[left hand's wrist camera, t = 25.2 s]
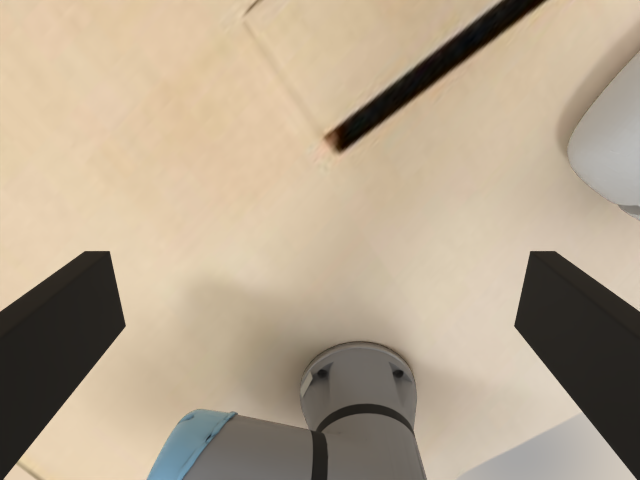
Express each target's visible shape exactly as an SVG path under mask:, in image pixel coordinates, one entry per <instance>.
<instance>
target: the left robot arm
mask: <svg viewBox="0 0 640 480" xmlns="http://www.w3.org/2000/svg"><path fill="white" fill-rule="evenodd" d="M125 326H126V325H125V320H124V316H123V311H122V306H121V302H120V297H119V293H118V288H117V283H116V279H115V274H114V269H113V265H112V260H111V256H110V251H85V252H83V253H82V254H80V255H79V256H78V257H76V258H75V259H73V260H72V261H71V262H69V263H68V264H66V265H65V266H64V267H62V268H61V269H59V270H58V271H57V272H55V273H54V274H52V275H51V276H50V277H48V278H47V279H45V280H44V281H43V282H41V283H40V284H38V285H37V286H36V287H34V288H33V289H31V290H30V291H29V292H27V293H26V294H24V295H23V296H22V297H20V298H19V299H17V300H16V301H15V302H13V303H12V304H10V305H9V306H8V307H6V308H5V309H3V310H2V311H1V312H0V480H3V479H4V478H5V476H6V475H7V474H8V473H9V471H10V470H11V469H12V468H13V466H14V465H15V464H16V463H17V461H18V460H19V459H20V458H21V456H22V455H23V454H24V453H25V451H26V450H27V449H28V448H29V446H30V445H31V444H32V443H33V441H34V440H35V439H36V438H37V436H38V435H39V434H40V433H41V431H42V430H43V429H44V428H45V426H46V425H47V424H48V423H49V421H50V420H51V419H52V418H53V416H54V415H55V414H56V413H57V411H58V410H59V409H60V408H61V406H62V405H63V404H64V403H65V401H66V400H67V399H68V398H69V396H70V395H71V394H72V393H73V391H74V390H75V389H76V388H77V386H78V385H79V384H80V383H81V381H82V380H83V379H84V378H85V376H86V375H87V374H88V373H89V371H90V370H91V369H92V368H93V366H94V365H95V364H96V363H97V361H98V360H99V359H100V358H101V356H102V355H103V354H104V353H105V351H106V350H107V349H108V348H109V346H110V345H111V344H112V343H113V341H114V340H115V339H116V338H117V336H118V335H119V334H120V333H121V331H122V330H123V329H124V328H125ZM514 326H515V328H516V329H517V330H518V331H519V333H520V334H521V335H522V336H523V338H524V339H525V340H526V341H527V343H528V344H529V345H530V346H531V348H532V349H533V350H534V351H535V353H536V354H537V355H538V356H539V358H540V359H541V360H542V361H543V363H544V364H545V365H546V366H547V368H548V369H549V370H550V371H551V373H552V374H553V375H554V376H555V378H556V379H557V380H558V381H559V383H560V384H561V385H562V386H563V388H564V389H565V390H566V391H567V393H568V394H569V395H570V396H571V398H572V399H573V400H574V401H575V403H576V404H577V405H578V406H579V408H580V409H581V410H582V411H583V413H584V414H585V415H586V416H587V418H588V419H589V420H590V421H591V423H592V424H593V425H594V426H595V428H596V429H597V430H598V431H599V433H600V434H601V435H602V436H603V438H604V439H605V440H606V441H607V443H608V444H609V445H610V446H611V448H612V449H613V450H614V451H615V453H616V454H617V455H618V456H619V458H620V459H621V460H622V461H623V463H624V464H625V465H626V466H627V468H628V469H629V470H630V471H631V473H632V474H633V475H634V476H635V478H636V479H637V480H640V312H639V311H638V310H637V309H635V308H634V307H632V306H631V305H630V304H628V303H627V302H625V301H624V300H623V299H621V298H620V297H618V296H617V295H616V294H614V293H613V292H611V291H610V290H609V289H607V288H606V287H604V286H603V285H602V284H600V283H599V282H597V281H596V280H595V279H593V278H592V277H590V276H589V275H588V274H586V273H585V272H583V271H582V270H581V269H579V268H578V267H576V266H575V265H574V264H572V263H571V262H569V261H568V260H567V259H565V258H564V257H562V256H561V255H560V254H558V253H557V252H555V251H530V256H529V260H528V265H527V269H526V274H525V279H524V283H523V288H522V293H521V297H520V302H519V306H518V311H517V316H516V320H515V325H514ZM300 401H301V408H302V411H303V414H304V417H305V420H306V422H307V425H308V428H309V430H308V429H303V428H299V427H294V426H289V425H284V424H279V423H275V422H270V421H265V420H260V419H255V418H250V417H246V416H241V415H238V413H236V412H230V413H225V412H218V411H212V410H205V409H199V410H194V411H192V412H190V413H188V414H187V415H186V416H184V417H183V418H182V419H181V420H180V422H179V423H178V424H177V425H176V427H175V428H174V430H173V431H172V433H171V434H170V436H169V437H168V439H167V441H166V443H165V444H164V446H163V448H162V450H161V452H160V453H159V455H158V457H157V459H156V461H155V463H154V465H153V467H152V469H151V471H150V473H149V476H148V478H147V480H427V478H426V475H425V471H424V467H423V464H422V460H421V457H420V453H419V450H418V446H417V442H416V439H415V435H414V431H413V429H414V421H415V412H416V403H417V391H416V384H415V381H414V377H413V374H412V372H411V369H410V367H409V366H408V364H407V363H406V362H405V360H404V359H403V358H402V357H401V356H399V355H398V354H397V353H395V352H394V351H392V350H390V349H388V348H386V347H384V346H381V345H378V344H374V343H367V342H352V343H345V344H341V345H337V346H335V347H332V348H330V349H328V350H326V351H324V352H322V353H321V354H320V355H318V356H317V357H316V358H315V359H314V360H313V361H312V362H311V363H310V364H309V365H308V367H307V368H306V370H305V372H304V374H303V377H302V380H301V387H300Z"/></svg>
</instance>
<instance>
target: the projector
mask: <svg viewBox="0 0 640 480" xmlns="http://www.w3.org/2000/svg"><path fill="white" fill-rule="evenodd" d="M567 154H568V159H569V163H570V165H571V167H572V169H573V170H574V171H575V173H576V174H577V175H578V176H579V177H580V178H581V179H582V180H583V181H584V182H585V183H586V184H587V185H588V186H590V187H591V188H592V189H593V190H595V191H596V192H597V193H599V194H600V195H601V196H603V197H604V198H606V199H607V200H608V201H610V202H612V203H615V204H618V206H619V207H620V208H621V209H622V210H623V211H625V212H626V213H628V214H629V215H631V216H632V217H634V218H636V219H637V220H639V221H640V51H639V52H638V53H637V54H636V55H635V56H634V57H633V58H632V59H631V60H630V61H629V62H628V63H627V65H626V66H625V67H624V68H623V69H622V70H621V71H620V72H619V73H618V74H617V75H616V77H615V78H614V79H613V80H612V81H611V82H610V84H609V85H608V86H607V87H606V88H605V89H604V90H603V92H602V93H601V94H600V95H599V97H598V98H597V99H596V100H595V101H594V103H593V104H592V105H591V107H590V108H589V109H588V111H587V112H586V113H585V114H584V116H583V117H582V119H581V120H580V122H579V123H578V125H577V126H576V128H575V130H574V131H573V133H572V135H571V137H570V140H569V143H568V148H567Z"/></svg>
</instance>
